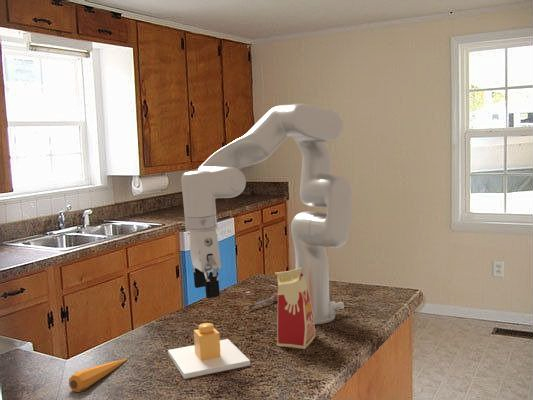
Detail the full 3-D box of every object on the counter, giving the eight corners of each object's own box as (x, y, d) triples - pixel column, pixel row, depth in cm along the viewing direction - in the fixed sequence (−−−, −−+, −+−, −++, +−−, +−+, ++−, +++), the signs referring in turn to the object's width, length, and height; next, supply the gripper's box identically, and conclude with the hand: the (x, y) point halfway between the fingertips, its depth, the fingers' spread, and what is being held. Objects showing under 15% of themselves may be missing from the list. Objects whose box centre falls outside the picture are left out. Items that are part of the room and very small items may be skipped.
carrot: (78, 398, 123) (84, 380, 122) (62, 388, 124) (69, 370, 123) (132, 370, 141) (138, 354, 140) (119, 361, 143) (124, 346, 142)
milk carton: (315, 336, 151) (313, 263, 149) (306, 349, 143) (304, 272, 140) (283, 333, 154) (280, 262, 152) (272, 346, 146) (269, 270, 143)
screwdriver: (250, 313, 174) (250, 303, 173) (243, 311, 176) (243, 302, 175) (300, 294, 192) (300, 285, 192) (293, 292, 194) (293, 284, 194)
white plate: (228, 343, 149) (227, 322, 148) (250, 365, 134) (249, 342, 134) (168, 354, 143) (166, 332, 142) (184, 378, 128) (183, 354, 127)
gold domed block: (214, 349, 142) (212, 320, 141) (220, 356, 137) (219, 326, 136) (194, 353, 140) (193, 324, 139) (200, 360, 135) (199, 330, 134)
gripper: (227, 226, 128) (233, 298, 131) (205, 215, 144) (211, 280, 146) (195, 230, 125) (202, 304, 128) (176, 219, 141) (182, 285, 144)
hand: (206, 291), depth 137 cm, fingers open, 9 cm apart
